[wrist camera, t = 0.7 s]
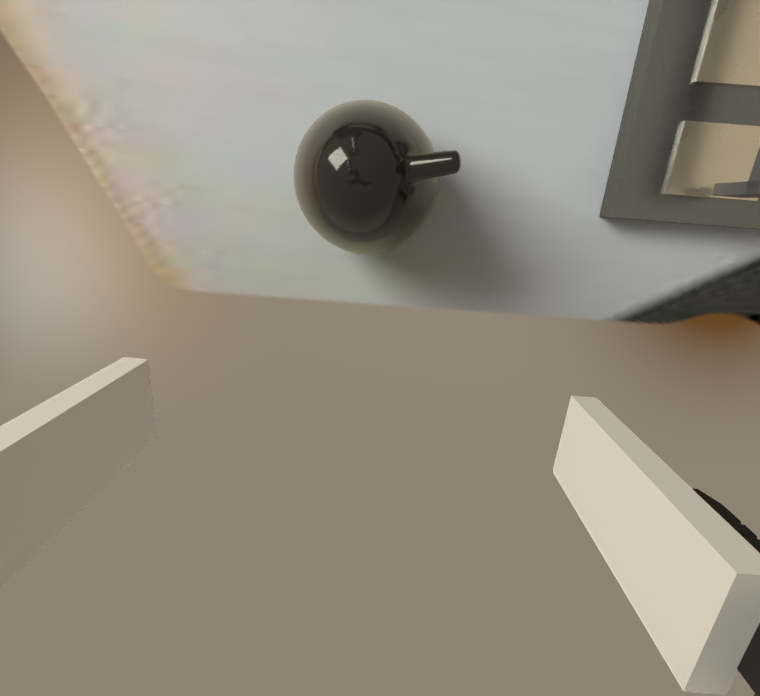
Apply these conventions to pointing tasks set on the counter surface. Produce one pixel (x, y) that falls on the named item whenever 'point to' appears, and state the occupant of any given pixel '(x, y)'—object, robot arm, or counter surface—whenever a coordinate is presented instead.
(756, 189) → the lever
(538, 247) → the counter surface
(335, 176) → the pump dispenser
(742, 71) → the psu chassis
